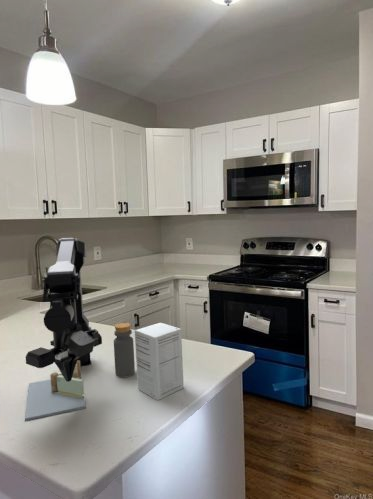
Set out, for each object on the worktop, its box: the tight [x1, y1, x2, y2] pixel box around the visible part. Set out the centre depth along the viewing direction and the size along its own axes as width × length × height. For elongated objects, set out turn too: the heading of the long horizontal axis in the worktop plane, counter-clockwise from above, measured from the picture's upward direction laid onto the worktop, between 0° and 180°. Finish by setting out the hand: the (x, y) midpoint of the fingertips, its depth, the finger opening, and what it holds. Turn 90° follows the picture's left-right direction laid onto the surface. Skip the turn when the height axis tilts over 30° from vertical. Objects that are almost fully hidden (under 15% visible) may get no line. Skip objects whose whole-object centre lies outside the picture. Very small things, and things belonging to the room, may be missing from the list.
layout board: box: [24, 375, 87, 422], centre depth 97 cm, size 14×20×1 cm
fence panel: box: [57, 375, 85, 396], centre depth 96 cm, size 8×1×4 cm, turn 65°
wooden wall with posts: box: [49, 360, 82, 392], centre depth 103 cm, size 2×11×5 cm, turn 157°
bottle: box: [113, 322, 136, 378], centre depth 109 cm, size 6×6×15 cm
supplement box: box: [134, 322, 185, 401], centre depth 98 cm, size 10×9×17 cm
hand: (68, 381), depth 90 cm, fingers closed
